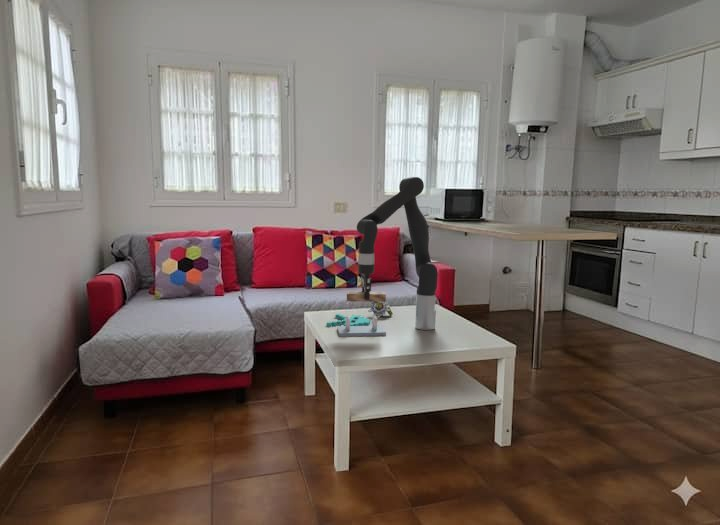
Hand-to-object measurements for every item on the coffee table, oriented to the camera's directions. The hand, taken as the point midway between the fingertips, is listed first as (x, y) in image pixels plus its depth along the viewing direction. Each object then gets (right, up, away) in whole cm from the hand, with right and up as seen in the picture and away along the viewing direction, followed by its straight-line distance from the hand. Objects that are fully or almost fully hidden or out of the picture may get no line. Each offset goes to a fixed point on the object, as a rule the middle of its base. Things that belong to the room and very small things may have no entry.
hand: (365, 298), depth 227 cm
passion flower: (+9, -13, +38) cm, 41 cm away
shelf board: (0, -1, 0) cm, 1 cm away
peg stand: (-2, -17, +6) cm, 18 cm away
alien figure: (-8, -15, +23) cm, 29 cm away
